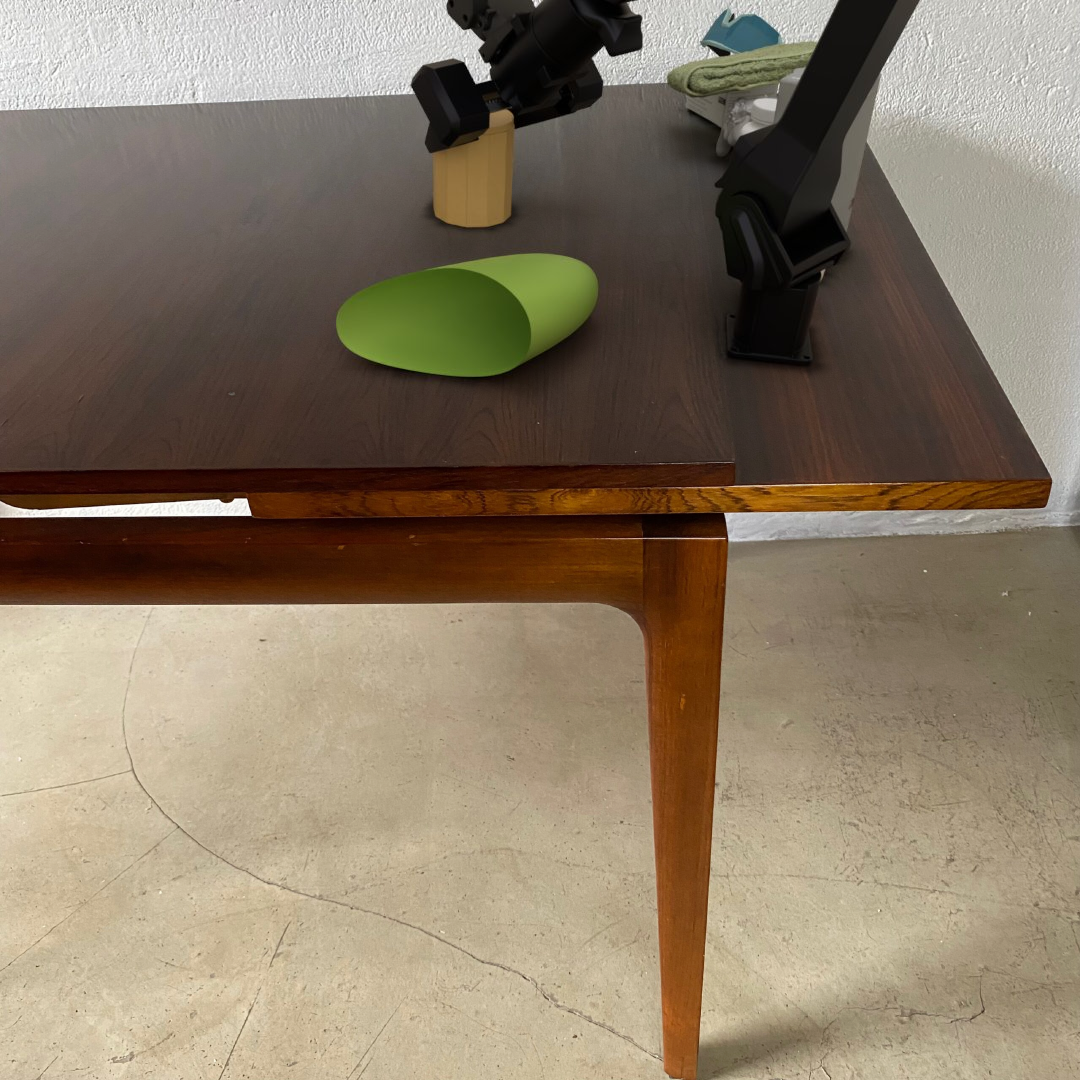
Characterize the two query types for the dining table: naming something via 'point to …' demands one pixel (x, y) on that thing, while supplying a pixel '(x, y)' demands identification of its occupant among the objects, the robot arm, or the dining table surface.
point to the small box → (726, 102)
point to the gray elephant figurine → (735, 124)
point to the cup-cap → (476, 177)
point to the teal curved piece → (739, 34)
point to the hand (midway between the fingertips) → (464, 137)
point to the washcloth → (740, 70)
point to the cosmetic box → (851, 144)
